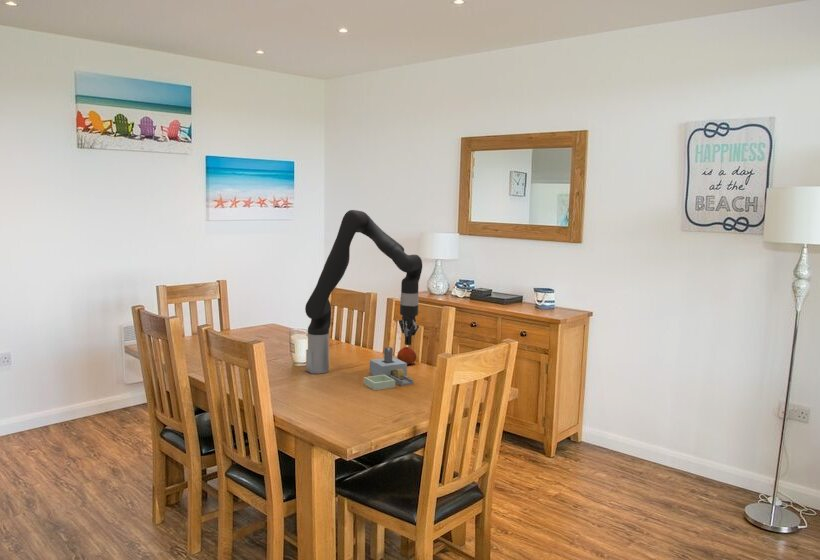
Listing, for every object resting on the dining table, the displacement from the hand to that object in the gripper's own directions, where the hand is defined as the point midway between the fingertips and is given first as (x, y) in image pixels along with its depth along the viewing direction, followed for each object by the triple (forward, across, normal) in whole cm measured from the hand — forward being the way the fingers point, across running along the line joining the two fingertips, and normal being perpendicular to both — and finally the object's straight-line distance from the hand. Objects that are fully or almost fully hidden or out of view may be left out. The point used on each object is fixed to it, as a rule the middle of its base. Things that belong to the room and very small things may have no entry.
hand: (407, 344), depth 267 cm
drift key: (+16, -10, 0) cm, 19 cm away
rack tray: (+17, -4, -11) cm, 21 cm away
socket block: (+17, -11, 0) cm, 21 cm away
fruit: (+18, -30, +17) cm, 39 cm away
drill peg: (+17, -17, 0) cm, 24 cm away
